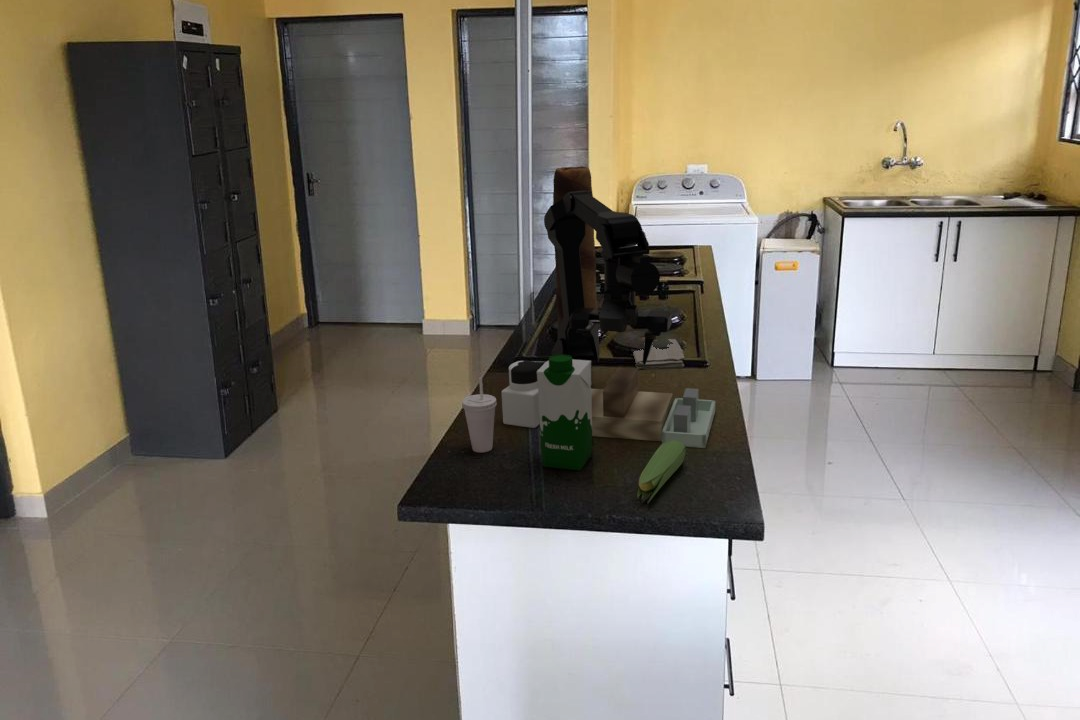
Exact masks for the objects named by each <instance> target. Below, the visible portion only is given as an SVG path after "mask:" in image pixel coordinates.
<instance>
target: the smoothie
mask: <svg viewBox="0 0 1080 720" xmlns="http://www.w3.org/2000/svg"><path fill="white" fill-rule="evenodd" d="M478 382H479V394H472V395H468V396H466V397H464V398H463V399H462V400H461V403H462V404H461V407H462V409H464V410H463V411H464V414H465V420H466V423H467V429H468V435H469V439H470V443H471V449H472V451H473V452H474V453H486V452H489V451H491V450H492V449H493V441H494V430H495V428H494V426H495V412H496V411H495V410H496V406H497V398H496V396H494V395H491V394H487V393H486V394H485V393H484V388H483V387H484V385H483V384H484V383H483V377H479V378H478Z"/></svg>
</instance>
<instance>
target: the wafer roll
mask: <svg viewBox="0 0 1080 720" xmlns="http://www.w3.org/2000/svg"><path fill="white" fill-rule="evenodd" d="M591 174H592V173H591V170H590V169H589V167H587V166H569V167H568V166H567V167H565V166H563V167H557V168H556V169H555V170H554V174H553V192H552V199H553V200H552V205H553V204H555V203H556V202H558V201H560V200H561V199H563V197H564V196H565V194H568V193H569V192H576V191H587V192H590V193H591V194H592V196H593V197H594V195H593V187H592V175H591ZM595 246H596V244H595V230H594V229H593V228H592V227H590V226H589V225H588V224H587V225H586V235H585V237H584V239H583V242H582V244H581V246H580V259H581V269H582V280H583V291H584V301H585V308H595V311H596V313H597V314H599V310H598V301H597V289H596V287H597V285H596V284H597V264H596V261H597V257H596V250H595V248H596V247H595ZM554 261H555V269H554V270H555V276H556V280H555V282H556V283H555V285H556V290H555V297H556V309H557V319H558V320H557V329H558V328H559V326H560V324H561V322H562V320H563V306H562V296H561V286H560V276H559V265H558V255H557V249H556V248H555V247H554ZM597 324H598V323H597ZM599 331H600V324H598V338H599V333H600V332H599Z"/></svg>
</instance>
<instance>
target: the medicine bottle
mask: <svg viewBox="0 0 1080 720" xmlns="http://www.w3.org/2000/svg"><path fill="white" fill-rule="evenodd" d="M539 369H540V365H539V364H538V363H537V362H535V361H532V360H518V361H515V362H513V363H511V364H510V365H509V366H508V378H509V379H508V380H509V382H508V383H509V385H508V386H507V387H506V388H504V389H502V390H501V391H500V392H501V408H502V409H501V410H502V422H503V424H504V425H510V426H517V427H523V428H530V429H531V428H532V429H535V428H537V427H538V426H540V416H539V394H538V380H537V371H538V370H539Z"/></svg>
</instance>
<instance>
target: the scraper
mask: <svg viewBox="0 0 1080 720" xmlns="http://www.w3.org/2000/svg"><path fill="white" fill-rule="evenodd" d="M638 370H639V369H636V368H629V367H627V368H626V367H617V368H616V370H615V371H614V374H612V376H611V378H610V380H609V381H608V383H607V385H606V386H605V388H603V389H604V391H603V416H605V417H619V418H624V417H625V416H626V414H627V412H628V410H629V408H630V406H631V404H632V402H633V400H634V398H635V397H636V395H637V393H638V391H639V389H638V388H639V386H638V385H639V384H638V383H639V382H638V381H639V379H638V377H639V375H638V374H639V373H638Z"/></svg>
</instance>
